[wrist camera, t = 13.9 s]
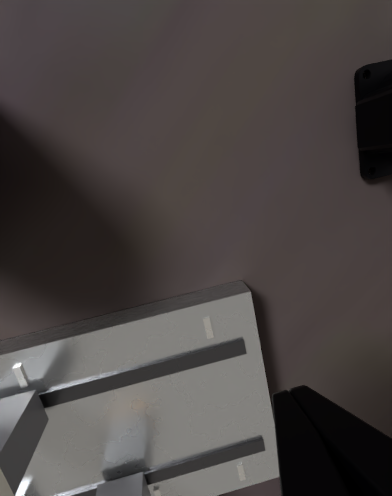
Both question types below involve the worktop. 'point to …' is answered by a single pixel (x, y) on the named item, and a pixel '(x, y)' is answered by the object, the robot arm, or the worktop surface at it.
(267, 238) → the worktop surface
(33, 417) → the cream fader
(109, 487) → the orange fader
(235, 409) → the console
